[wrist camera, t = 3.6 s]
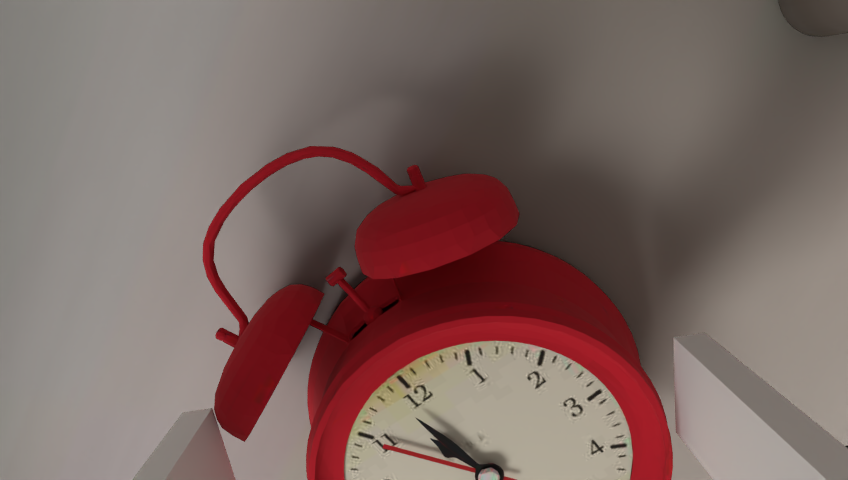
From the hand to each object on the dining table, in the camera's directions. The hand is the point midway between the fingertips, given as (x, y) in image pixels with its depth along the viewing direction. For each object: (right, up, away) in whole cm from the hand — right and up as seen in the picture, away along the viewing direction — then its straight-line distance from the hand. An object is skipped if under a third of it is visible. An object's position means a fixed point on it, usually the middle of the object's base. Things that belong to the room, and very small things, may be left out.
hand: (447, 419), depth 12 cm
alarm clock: (0, +1, +4) cm, 4 cm away
